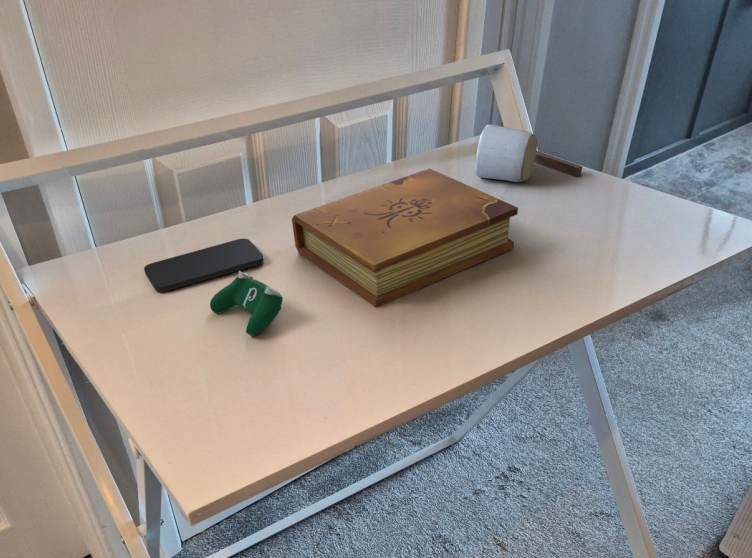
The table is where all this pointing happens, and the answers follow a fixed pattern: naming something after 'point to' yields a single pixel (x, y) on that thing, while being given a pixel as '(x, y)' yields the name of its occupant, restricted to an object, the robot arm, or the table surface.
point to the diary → (403, 234)
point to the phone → (202, 264)
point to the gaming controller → (249, 301)
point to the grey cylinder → (505, 153)
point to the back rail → (558, 164)
